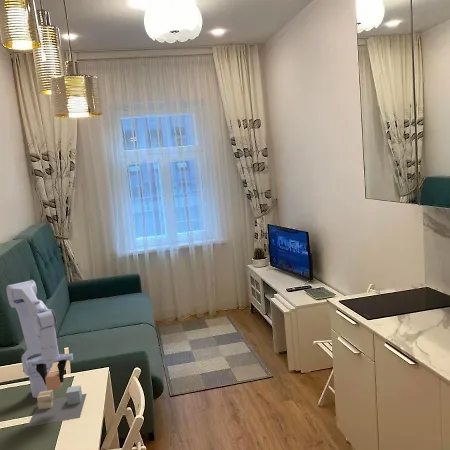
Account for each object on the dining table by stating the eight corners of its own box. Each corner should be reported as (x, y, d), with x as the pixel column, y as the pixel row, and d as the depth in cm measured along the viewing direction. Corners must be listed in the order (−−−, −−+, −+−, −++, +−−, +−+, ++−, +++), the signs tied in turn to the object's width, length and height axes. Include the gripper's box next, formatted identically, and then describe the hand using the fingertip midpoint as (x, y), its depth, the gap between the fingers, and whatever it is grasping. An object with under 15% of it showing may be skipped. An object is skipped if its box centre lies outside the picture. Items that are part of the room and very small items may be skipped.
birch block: (41, 403, 175) (39, 392, 174) (54, 401, 176) (52, 389, 175) (38, 409, 170) (36, 397, 170) (51, 407, 171) (50, 395, 171)
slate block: (69, 399, 176) (68, 387, 176) (82, 396, 177) (80, 385, 176) (67, 404, 172) (66, 392, 171) (80, 402, 173) (78, 390, 172)
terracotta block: (49, 385, 170) (47, 372, 169) (62, 382, 171) (61, 370, 170) (47, 390, 166) (45, 378, 165) (60, 388, 166) (58, 376, 166)
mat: (39, 402, 177) (39, 401, 177) (86, 394, 179) (86, 393, 179) (27, 428, 159) (27, 426, 159) (79, 419, 162) (79, 417, 162)
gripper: (24, 353, 161) (30, 391, 163) (68, 346, 163) (74, 384, 165) (29, 345, 168) (35, 382, 170) (71, 339, 170) (77, 375, 172)
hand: (54, 382), depth 168 cm, fingers closed on terracotta block, 4 cm apart
